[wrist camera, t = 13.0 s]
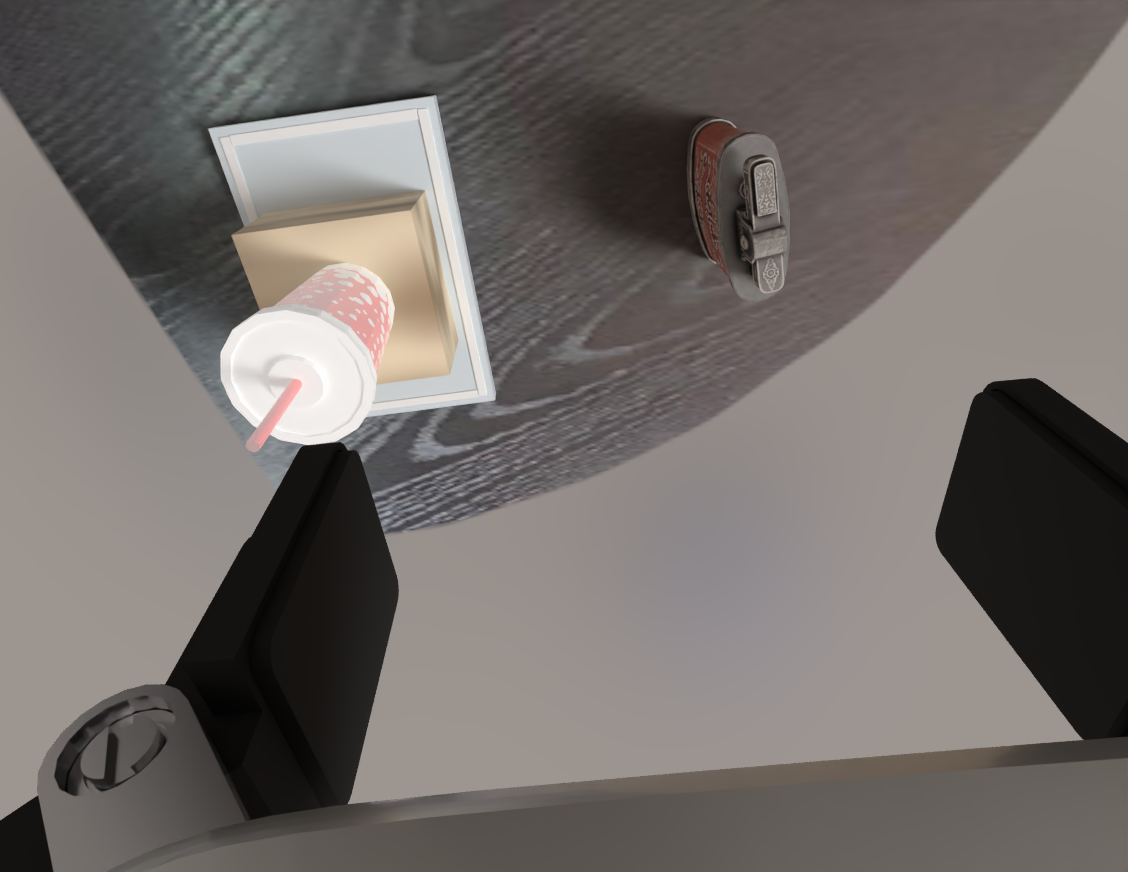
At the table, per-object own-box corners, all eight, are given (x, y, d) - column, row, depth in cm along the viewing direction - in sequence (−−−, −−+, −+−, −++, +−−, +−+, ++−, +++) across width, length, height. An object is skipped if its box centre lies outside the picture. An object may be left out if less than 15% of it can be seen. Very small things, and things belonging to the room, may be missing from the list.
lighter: (753, 252, 40) (812, 310, 31) (698, 266, 40) (742, 326, 32) (739, 110, 36) (803, 131, 27) (678, 126, 36) (723, 152, 28)
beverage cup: (340, 221, 32) (226, 327, 20) (433, 309, 35) (380, 449, 23) (265, 302, 34) (121, 443, 22) (359, 380, 37) (274, 544, 25)
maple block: (266, 212, 37) (231, 235, 32) (425, 190, 36) (410, 210, 32) (317, 358, 41) (292, 395, 37) (458, 340, 41) (449, 374, 37)
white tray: (215, 126, 35) (207, 128, 34) (435, 94, 35) (433, 96, 34) (321, 415, 45) (316, 424, 44) (495, 393, 44) (494, 401, 43)
